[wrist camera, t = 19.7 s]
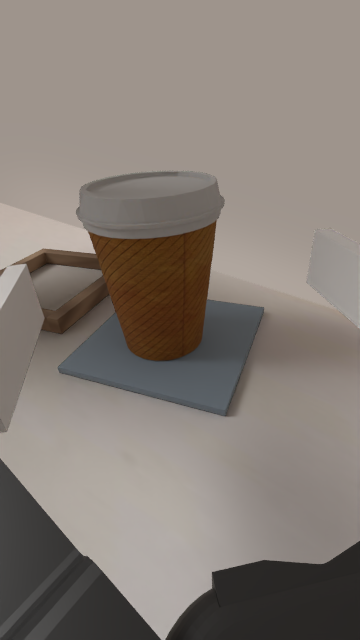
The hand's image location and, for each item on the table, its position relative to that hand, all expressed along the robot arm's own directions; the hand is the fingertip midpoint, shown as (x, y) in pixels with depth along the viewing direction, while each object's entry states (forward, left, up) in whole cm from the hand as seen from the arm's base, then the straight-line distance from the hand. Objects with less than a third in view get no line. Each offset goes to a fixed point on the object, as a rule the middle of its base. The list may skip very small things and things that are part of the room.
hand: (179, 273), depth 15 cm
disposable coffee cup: (+7, +5, -10) cm, 13 cm away
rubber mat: (+7, +4, -10) cm, 13 cm away
